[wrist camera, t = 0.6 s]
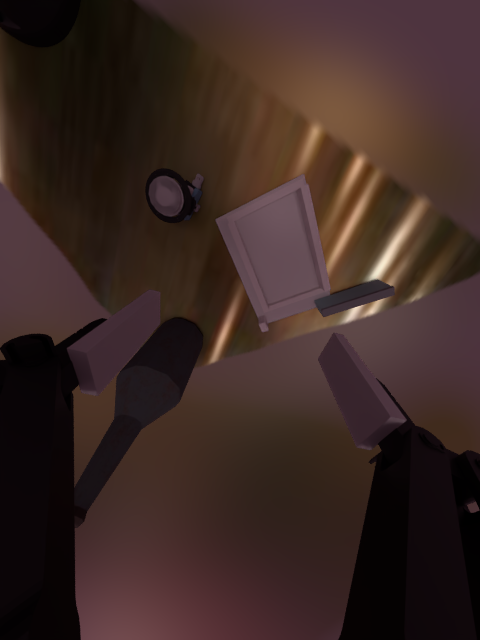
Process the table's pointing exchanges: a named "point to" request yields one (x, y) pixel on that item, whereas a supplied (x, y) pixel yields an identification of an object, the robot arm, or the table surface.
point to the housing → (278, 251)
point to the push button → (172, 195)
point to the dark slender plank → (354, 297)
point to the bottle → (141, 401)
